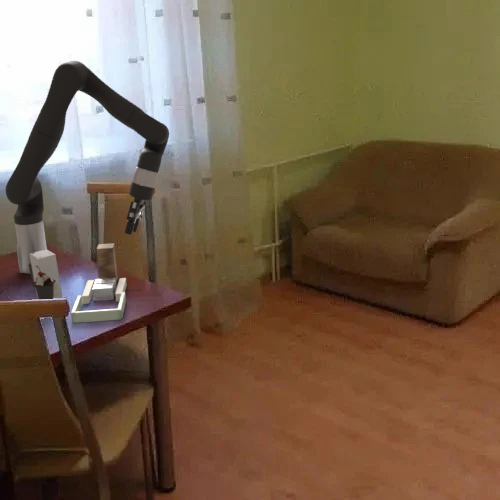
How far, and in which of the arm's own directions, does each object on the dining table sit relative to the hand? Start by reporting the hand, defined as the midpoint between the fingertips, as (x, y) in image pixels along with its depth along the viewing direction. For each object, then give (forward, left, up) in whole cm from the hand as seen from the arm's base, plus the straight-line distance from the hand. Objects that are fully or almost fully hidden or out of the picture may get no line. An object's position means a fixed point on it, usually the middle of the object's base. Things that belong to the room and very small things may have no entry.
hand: (130, 232), depth 244 cm
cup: (-29, -1, -16) cm, 33 cm away
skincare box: (-25, -13, -16) cm, 33 cm away
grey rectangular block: (-8, -15, -16) cm, 24 cm away
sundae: (-23, -26, -16) cm, 39 cm away
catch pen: (-8, -27, -16) cm, 32 cm away
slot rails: (-8, -12, -16) cm, 22 cm away
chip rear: (-8, -10, -16) cm, 21 cm away
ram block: (-8, 0, -16) cm, 18 cm away
